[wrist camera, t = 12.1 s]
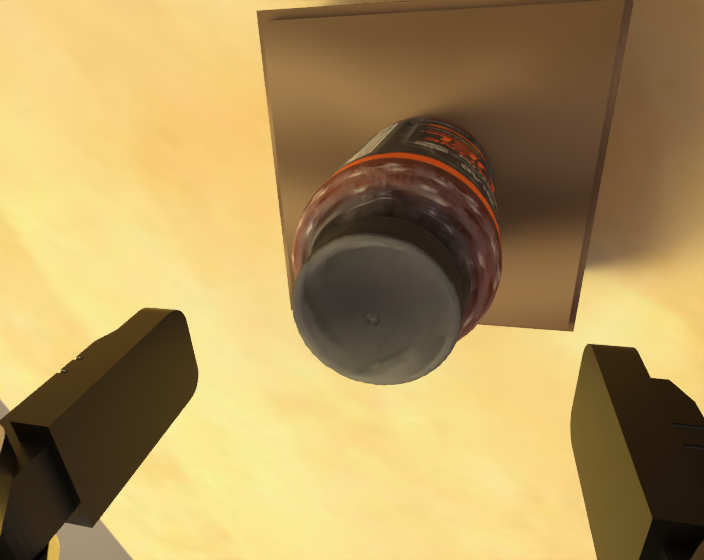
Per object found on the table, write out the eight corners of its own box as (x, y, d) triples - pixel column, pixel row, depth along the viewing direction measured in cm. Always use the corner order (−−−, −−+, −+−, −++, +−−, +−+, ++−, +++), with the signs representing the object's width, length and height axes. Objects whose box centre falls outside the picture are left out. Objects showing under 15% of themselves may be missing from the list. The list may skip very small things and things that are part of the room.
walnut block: (304, 14, 26) (250, 10, 19) (597, -4, 22) (641, -16, 16) (323, 260, 32) (287, 315, 26) (554, 272, 29) (575, 338, 23)
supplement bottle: (527, 175, 20) (576, 317, 10) (431, 274, 23) (396, 459, 13) (412, 80, 19) (345, 131, 9) (328, 193, 22) (210, 324, 12)
